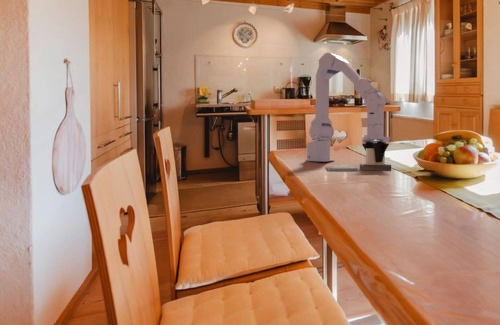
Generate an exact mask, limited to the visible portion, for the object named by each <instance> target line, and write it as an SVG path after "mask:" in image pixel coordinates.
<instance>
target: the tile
mask: <svg viewBox="0 0 500 325" xmlns="http://www.w3.org/2000/svg"><path fill="white" fill-rule="evenodd" d="M325 168H326V170H327V171H328V172H359V171H358V169H359V167H355V166H352V165H351V166H350V165H349V166H347V165H346V166H345V165H344V166H342V165H341V166H340V165H339V166H336V165H335V166H325Z"/></svg>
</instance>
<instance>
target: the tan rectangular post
mask: <svg viewBox="0 0 500 325" xmlns="http://www.w3.org/2000/svg"><path fill="white" fill-rule="evenodd" d="M385 154H386V152H385V153H384V157H383V160H382V162H376V160H375V151H374V148H366V151H365V164H366V165H385V164H386V162H385V158H386V157H385V156H386V155H385Z"/></svg>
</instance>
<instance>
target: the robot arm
mask: <svg viewBox="0 0 500 325" xmlns="http://www.w3.org/2000/svg"><path fill="white" fill-rule="evenodd" d="M340 72H341V73H343V74H344V75H345V76H346V77H347V79H348V80H349V81H350V82H351V83H352V84H354V85H353V90H355V92H356V93H357V94H358V95H359V96H360V97H361V98H362V99H363V102H364V105H365V106H366V116H367V118H366V137H362V139H361V141H362V147H363V148H364V151H365V152H366V148H374V151H375V160H376V162H382V160H383V157H384V153H385V154H386V151H387V149H388V147H389V145H390V142H391V141H390V140H391V137H390V136H384V131H385V130H384V129H385V127H384V124H385V119H384V118H385V117H384V115H385V112H384V111H385V106H386V104H387V100H388V99H387V96H386V95H385V93H383V92H379V90H380V89H378V88H377V87H375V86H374V85H373V84H372V80H371V79H370V78H366V77H361V76H360V75H359V73H358V72H357V71H356V70H355V69H354V67H353V65H351V63H350V62H349V60H348V59H346V58H345V57H344V56H342V55H336V54H335V53H332V52H325V53H324V54H322V56H320V58H319V59H318V68H317V71H316V74H315V108H314V110H315V117H314V118H313V119H312V120H311V121H310V127H309V136H310V138H311V140H309V141H308V142H307V145H306V159H305V161H306V162H335V159H331V140H332V138H333V136H334V133H335V130H334V127H333V122H332V120H331V119H330V115H329V113H330V111H329V110H330V109H329V107H330V102H329V101H330V79H332V78H333V77H334V76H335V75H337V74H339V73H340Z"/></svg>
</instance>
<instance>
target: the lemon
mask: <svg viewBox="0 0 500 325" xmlns="http://www.w3.org/2000/svg"><path fill="white" fill-rule="evenodd" d="M425 148H426V147H424V148H423V149H421V150H419V152H418V153H417V156H416V158H417V157H419V158H424V150H425ZM417 165H418V166H419V168H422V167H421V166H420V165H419V164H418V163H417Z"/></svg>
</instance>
